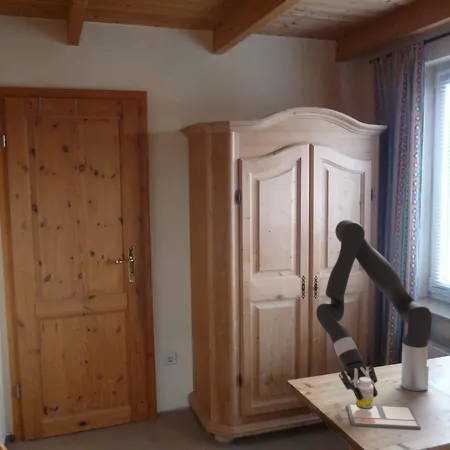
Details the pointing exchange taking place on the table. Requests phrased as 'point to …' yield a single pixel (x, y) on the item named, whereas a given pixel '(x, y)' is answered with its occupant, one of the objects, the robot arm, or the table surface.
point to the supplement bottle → (365, 394)
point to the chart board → (383, 417)
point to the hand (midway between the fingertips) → (368, 397)
